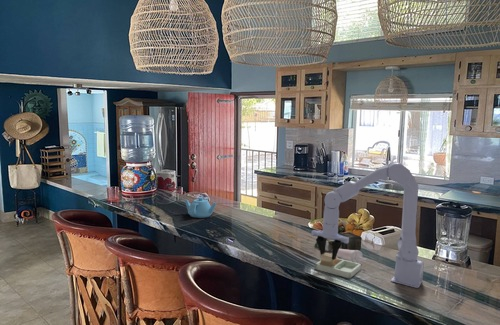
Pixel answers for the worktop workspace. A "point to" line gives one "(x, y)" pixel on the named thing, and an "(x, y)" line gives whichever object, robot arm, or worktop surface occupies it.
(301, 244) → the worktop surface
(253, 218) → the worktop surface
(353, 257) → the smoothie
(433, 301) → the worktop surface
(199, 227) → the worktop surface
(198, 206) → the teapot
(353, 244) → the juice carton
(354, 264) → the tray
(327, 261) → the maple block
